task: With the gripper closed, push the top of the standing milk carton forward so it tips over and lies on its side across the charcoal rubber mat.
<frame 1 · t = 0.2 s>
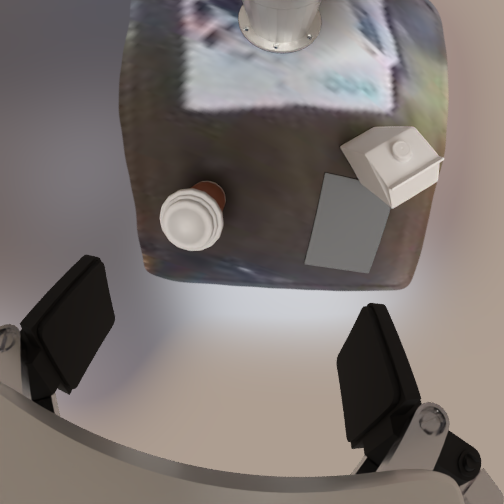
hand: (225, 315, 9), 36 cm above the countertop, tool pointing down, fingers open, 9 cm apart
milk carton: (367, 155, 39), on the countertop, touching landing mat
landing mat: (349, 226, 45), on the countertop
coffee cup: (207, 198, 45), on the countertop
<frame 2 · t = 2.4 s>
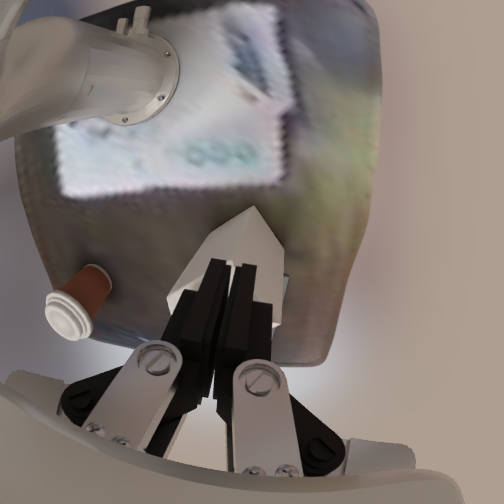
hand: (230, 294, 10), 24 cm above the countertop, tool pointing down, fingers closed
milk carton: (247, 240, 36), on the countertop, touching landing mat
coffee cup: (97, 278, 42), on the countertop
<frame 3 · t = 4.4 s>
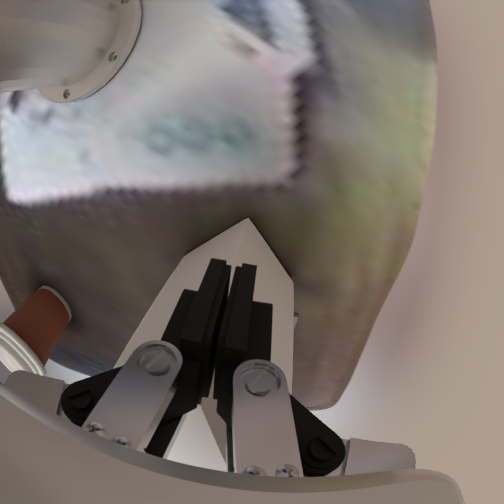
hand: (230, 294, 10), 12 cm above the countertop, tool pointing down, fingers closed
milk carton: (238, 267, 24), on the countertop, touching gripper, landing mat
coffee cup: (55, 303, 30), on the countertop
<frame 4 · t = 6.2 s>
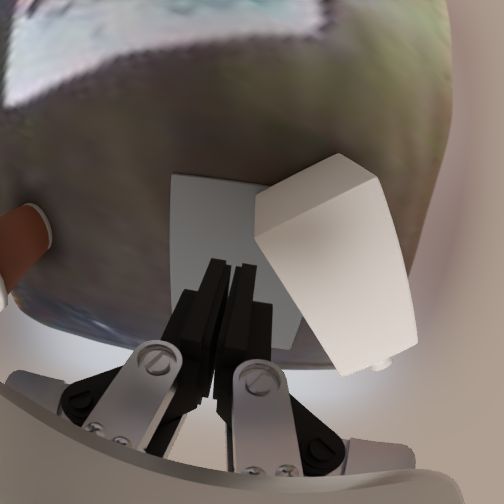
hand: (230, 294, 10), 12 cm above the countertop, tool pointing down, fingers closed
milk carton: (302, 181, 16), point 4 cm above the countertop, touching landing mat
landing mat: (240, 275, 25), on the countertop
coffee cup: (36, 227, 24), on the countertop
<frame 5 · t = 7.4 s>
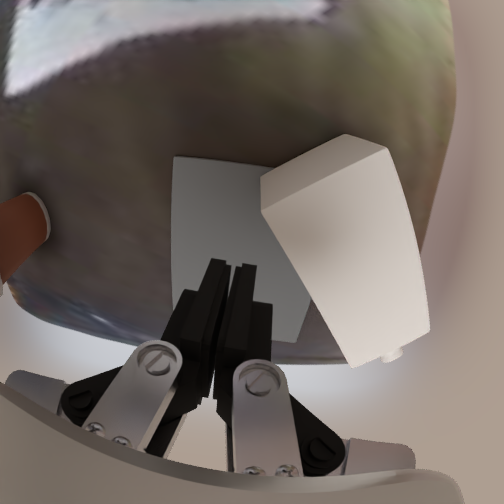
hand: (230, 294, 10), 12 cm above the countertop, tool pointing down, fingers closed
milk carton: (309, 157, 15), point 4 cm above the countertop, touching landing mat
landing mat: (244, 262, 24), on the countertop
coffee cup: (34, 217, 23), on the countertop
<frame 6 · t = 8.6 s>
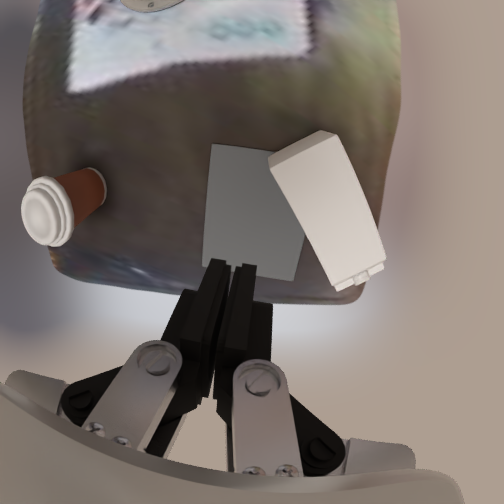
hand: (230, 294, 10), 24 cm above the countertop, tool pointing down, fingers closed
milk carton: (296, 143, 26), point 4 cm above the countertop, touching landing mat
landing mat: (256, 216, 34), on the countertop
coffee cup: (91, 187, 34), on the countertop
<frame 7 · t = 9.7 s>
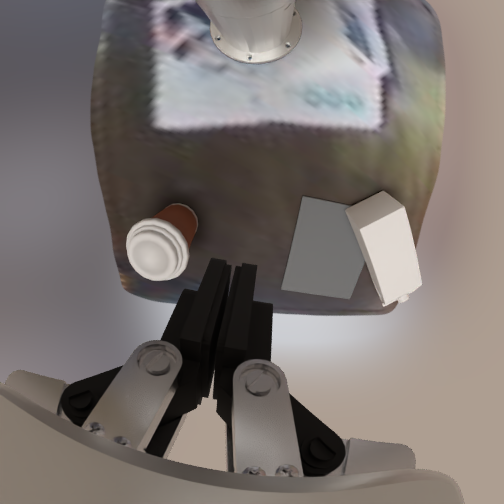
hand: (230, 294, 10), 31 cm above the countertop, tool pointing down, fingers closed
milk carton: (372, 205, 35), point 4 cm above the countertop, touching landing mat
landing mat: (329, 251, 44), on the countertop
coffee cup: (179, 221, 43), on the countertop
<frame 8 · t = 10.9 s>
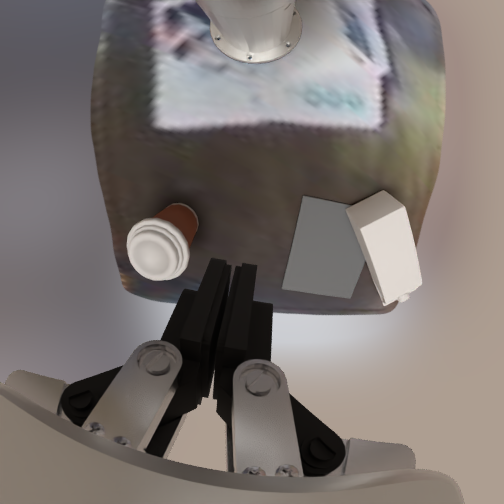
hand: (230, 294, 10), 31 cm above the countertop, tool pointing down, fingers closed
milk carton: (372, 205, 35), point 4 cm above the countertop, touching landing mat
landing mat: (330, 251, 44), on the countertop
coffee cup: (180, 220, 43), on the countertop
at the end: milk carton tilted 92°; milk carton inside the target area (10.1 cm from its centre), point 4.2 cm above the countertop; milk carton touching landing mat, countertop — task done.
